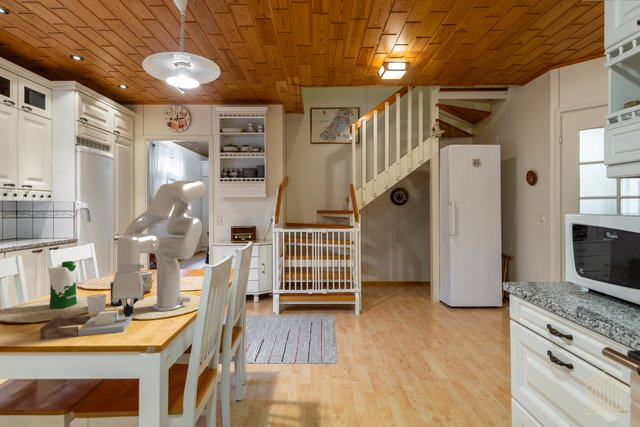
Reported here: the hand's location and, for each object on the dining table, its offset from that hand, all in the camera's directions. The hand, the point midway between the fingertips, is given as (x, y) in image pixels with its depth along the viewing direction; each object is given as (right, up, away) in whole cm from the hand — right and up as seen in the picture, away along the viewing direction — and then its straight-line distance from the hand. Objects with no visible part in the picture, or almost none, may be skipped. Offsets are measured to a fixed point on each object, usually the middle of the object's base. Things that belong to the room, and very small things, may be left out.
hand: (128, 315), depth 127 cm
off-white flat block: (-7, -2, -2) cm, 7 cm away
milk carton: (-42, -3, +22) cm, 48 cm away
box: (-19, -4, -6) cm, 20 cm away
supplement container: (-19, -3, +26) cm, 32 cm away
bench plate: (-7, -4, -2) cm, 8 cm away
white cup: (-22, -3, +14) cm, 26 cm away
